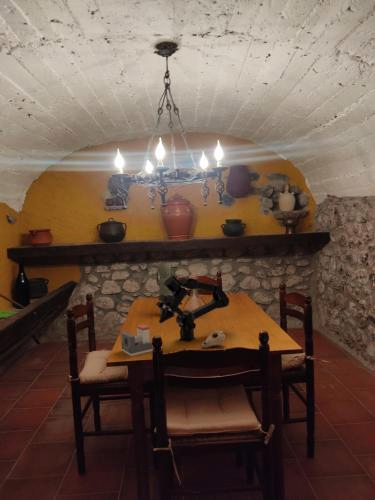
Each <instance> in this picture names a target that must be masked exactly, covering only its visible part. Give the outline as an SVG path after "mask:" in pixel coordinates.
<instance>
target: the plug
mask: <svg viewBox="0 0 375 500" xmlns="http://www.w3.org/2000/svg"><path fill="white" fill-rule="evenodd" d="M136 334H137V335H134V336H135V343H137V342H138V345H140V344H144V343H149V342H151V340H150V327H149V326H148V325H146V324H139V325H136Z"/></svg>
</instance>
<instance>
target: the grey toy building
mask: <svg viewBox="0 0 375 500" xmlns="http://www.w3.org/2000/svg"><path fill="white" fill-rule="evenodd" d="M135 336H136V335H134V334H133V335H132V334H131V333H129V332H127V331H123V332H121V350H122V349H123V350H125V351H127V352H129V353H130V354H133V353H137V352H141V351H145V350H150V349H153V347H152V342H153V341H150V342H149V343H144V344H140V345H138V342H137V343H135Z"/></svg>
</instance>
